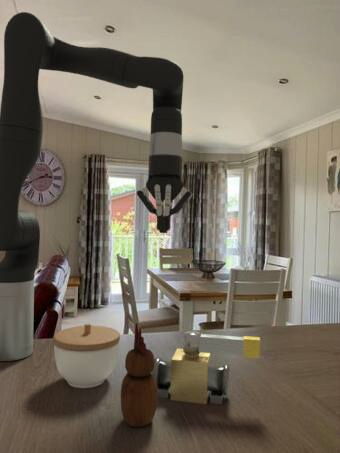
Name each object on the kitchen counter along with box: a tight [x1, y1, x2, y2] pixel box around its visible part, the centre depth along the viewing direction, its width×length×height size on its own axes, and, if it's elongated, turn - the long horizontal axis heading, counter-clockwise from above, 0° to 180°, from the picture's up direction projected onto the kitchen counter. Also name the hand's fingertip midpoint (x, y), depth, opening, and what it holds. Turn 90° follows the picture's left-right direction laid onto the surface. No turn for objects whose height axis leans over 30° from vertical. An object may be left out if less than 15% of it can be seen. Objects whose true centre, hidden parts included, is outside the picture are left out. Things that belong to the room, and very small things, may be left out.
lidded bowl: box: [53, 323, 121, 389], centre depth 75 cm, size 13×13×11 cm
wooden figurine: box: [120, 322, 158, 428], centre depth 60 cm, size 7×6×15 cm
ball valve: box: [151, 348, 230, 405], centre depth 70 cm, size 14×6×8 cm, turn 79°
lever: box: [182, 330, 261, 359], centre depth 69 cm, size 14×3×3 cm, turn 80°
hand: (163, 232), depth 86 cm, fingers closed
